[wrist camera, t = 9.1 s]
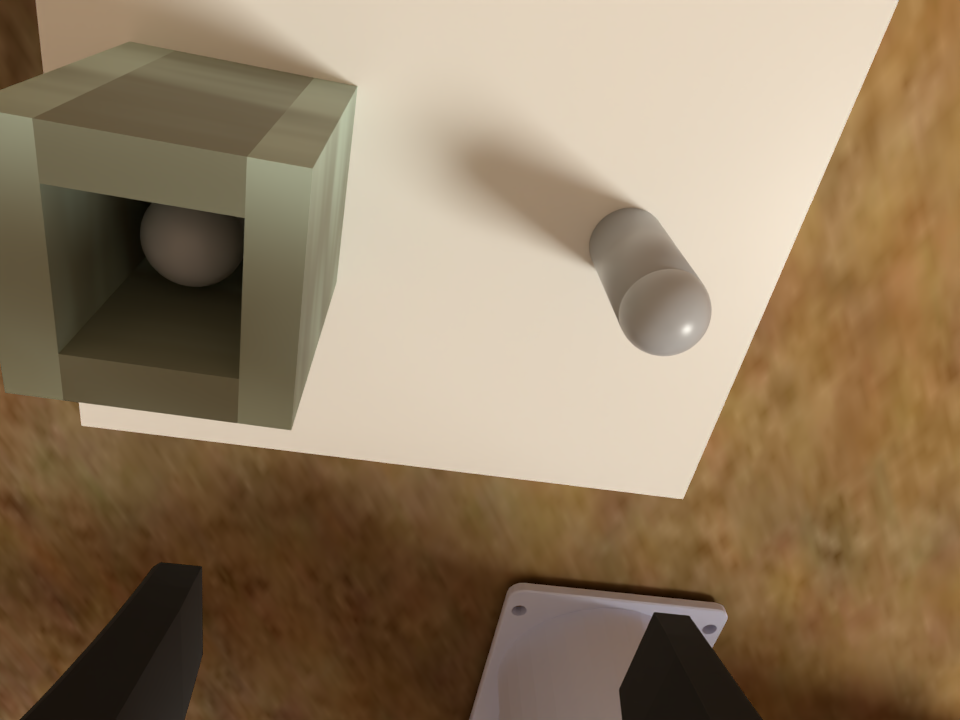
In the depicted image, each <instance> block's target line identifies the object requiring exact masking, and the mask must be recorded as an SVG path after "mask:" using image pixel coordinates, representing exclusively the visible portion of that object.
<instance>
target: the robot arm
mask: <svg viewBox="0 0 960 720" xmlns="http://www.w3.org/2000/svg"><path fill="white" fill-rule="evenodd" d="M516 606H520V607H516ZM727 618H728V616H727V613H726V611H725V608H724V606H723V605H721V604H719V603H715V602H705V601H695V600H686V599H676V598H666V597H657V596H647V595H637V594H628V593H618V592H608V591H599V590H589V589H579V588H570V587H560V586H550V585H541V584H531V583H517V584H514V585H513V586H511V587H510V588H509V589H508V591H507V594H506V597H505V601H504V604H503V607H502V611H501V614H500V617H499V621H498V624H497V627H496V631H495V634H494V637H493V641H492V644H491V648H490V651H489V654H488V658H487V661H486V664H485V668H484V671H483V674H482V678H481V681H480V685H479V688H478V691H477V695H476V698H475V701H474V705H473V708H472V711H471V715H470V718H469V720H763V719H762V718H761V717H760V715H759V714H758V713H757V711H756V710H755V708H754V707H753V706H752V704H751V703H750V701H749V700H748V699H747V697H746V696H745V694H744V693H743V692H742V690H741V689H740V687H739V686H738V685H737V683H736V682H735V680H734V679H733V677H732V676H731V675H730V673H729V672H728V670H727V669H726V667H725V666H724V665H723V663H722V662H721V660H720V659H719V657H718V656H717V654H716V653H715V652H714V650H713V649H712V647H713V646H714V644H715V642H716V640H717V638H718V636H719V634H720V632H721V631H722V629H723V627H724V625H725V623H726V621H727ZM202 655H203V630H202V567H201V566H192V565H182V564H172V563H162V562H161V563H159V564H157V565H156V566H154V567H153V568H152V569H151V570H150V572H149V573H148V574H147V576H146V577H145V578H144V580H143V581H142V582H141V584H140V585H139V586H138V587H137V589H136V590H135V591H134V593H133V594H132V595H131V596H130V598H129V599H128V600H127V601H126V603H125V604H124V605H123V606H122V607H121V609H120V610H119V611H118V612H117V614H116V615H115V616H114V617H113V618H112V620H111V621H110V622H109V623H108V624H107V625H106V627H105V628H104V629H103V630H102V631H101V632H100V634H99V635H98V636H97V637H96V638H95V639H94V641H93V642H92V643H91V644H90V645H89V646H88V647H87V648H86V650H85V651H84V652H83V653H82V654H81V655H80V656H79V657H78V658H77V659H76V661H75V662H74V663H73V664H72V665H71V666H70V667H69V668H68V669H67V671H66V672H65V673H64V674H63V675H62V676H61V677H60V678H59V679H58V680H57V682H56V683H55V684H54V685H53V686H52V687H51V688H50V689H49V690H48V691H47V692H46V693H45V694H44V695H43V697H42V698H41V699H40V700H39V701H38V702H37V703H36V704H35V705H34V706H33V707H32V708H31V709H30V710H29V711H28V712H27V713H26V714H25V715H24V716H23V717H22V718H21V719H20V720H185V716H186V713H187V709H188V706H189V702H190V699H191V695H192V692H193V688H194V684H195V681H196V677H197V673H198V669H199V666H200V662H201V658H202Z"/></svg>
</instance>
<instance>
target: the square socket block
mask: <svg viewBox="0 0 960 720" xmlns="http://www.w3.org/2000/svg"><path fill="white" fill-rule="evenodd" d="M357 87H358V86H354V85H349V84H344V83H339V82H333V81H328V80H323V79H318V78H313V77H308V76H303V75H298V74H293V73H288V72H282V71H277V70H272V69H267V68H262V67H257V66H252V65H247V64H242V63H237V62H232V61H226V60H221V59H216V58H211V57H206V56H201V55H196V54H191V53H186V52H181V51H175V50H170V49H165V48H160V47H155V46H150V45H145V44H140V43H135V42H130V41H129V42H127V43H124V44H121V45H119V46H116V47H113V48H111V49H108V50H105V51H103V52H100V53H97V54H95V55H92V56H89V57H87V58H84V59H81V60H79V61H76V62H73V63H71V64H68V65H65V66H63V67H60V68H57V69H55V70H52V71H49V72H47V73H44V74H41V75H39V76H36V77H33V78H31V79H28V80H25V81H23V82H20V83H17V84H15V85H12V86H9V87H7V88H4V89H1V90H0V363H1V370H2V376H3V382H4V389H5V393H12V394H19V395H27V396H35V397H42V398H50V399H57V400H65V401H72V402H80V403H87V404H95V405H103V406H110V407H118V408H125V409H133V410H140V411H148V412H156V413H163V414H171V415H178V416H186V417H193V418H201V419H209V420H216V421H224V422H231V423H239V424H246V425H254V426H262V427H269V428H277V429H284V430H292V426H293V423H294V420H295V417H296V413H297V410H298V407H299V404H300V400H301V397H302V394H303V390H304V387H305V384H306V381H307V377H308V374H309V371H310V368H311V364H312V361H313V358H314V355H315V351H316V348H317V345H318V342H319V338H320V335H321V332H322V328H323V325H324V322H325V319H326V315H327V312H328V309H329V306H330V302H331V299H332V296H333V293H334V289H335V286H336V283H337V274H338V265H339V255H340V246H341V237H342V227H343V218H344V209H345V199H346V190H347V181H348V171H349V162H350V153H351V143H352V134H353V125H354V115H355V106H356V96H357ZM151 203H158V204H164V205H170V206H176V207H182V208H188V209H194V210H200V211H206V212H212V213H218V214H223V215H229V216H235V217H241V218H245V226H244V254H243V259H242V261H241V262H240V264H239V265H238V267H237V268H236V269H235V270H234V272H233V273H232V274H230V275H229V276H228V277H227V278H225V279H223V280H222V281H220V282H218V283H215V284H212V285H209V286H203V287H190V286H184V285H180V284H177V283H174V282H172V281H170V280H168V279H166V278H165V277H163V276H162V275H161V274H159V273H158V272H157V271H156V270H155V269H154V268H153V267H152V266H151V264H150V263H149V261H148V260H147V258H146V256H145V254H144V251H143V249H142V245H141V241H140V227H141V222H142V219H143V216H144V214H145V212H146V210H147V208H148V207H149V206H150V205H151Z"/></svg>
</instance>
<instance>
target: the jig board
mask: <svg viewBox="0 0 960 720" xmlns="http://www.w3.org/2000/svg"><path fill="white" fill-rule="evenodd" d="M898 1H899V0H36V10H37V19H38V28H39V37H40V47H41V56H42V65H43V74H44V73H47V72H49V71H52V70H55V69H57V68H60V67H63V66H65V65H68V64H71V63H73V62H76V61H79V60H81V59H84V58H87V57H89V56H92V55H95V54H97V53H100V52H103V51H105V50H108V49H111V48H113V47H116V46H119V45H121V44H124V43H127V42H129V41H130V42H135V43H140V44H145V45H150V46H155V47H160V48H165V49H170V50H175V51H181V52H186V53H191V54H196V55H201V56H206V57H211V58H216V59H221V60H226V61H232V62H237V63H242V64H247V65H252V66H257V67H262V68H267V69H272V70H277V71H282V72H288V73H293V74H298V75H303V76H308V77H313V78H318V79H323V80H328V81H333V82H339V83H344V84H349V85H354V86H358V87H357V96H356V106H355V115H354V125H353V134H352V143H351V153H350V162H349V171H348V181H347V190H346V199H345V209H344V218H343V227H342V237H341V246H340V255H339V265H338V274H337V283H336V286H335V289H334V293H333V296H332V299H331V302H330V306H329V309H328V312H327V315H326V319H325V322H324V325H323V328H322V332H321V335H320V338H319V342H318V345H317V348H316V351H315V355H314V358H313V361H312V364H311V368H310V371H309V374H308V377H307V381H306V384H305V387H304V390H303V394H302V397H301V400H300V404H299V407H298V410H297V413H296V417H295V420H294V423H293V426H292V430H284V429H277V428H269V427H262V426H254V425H246V424H239V423H231V422H224V421H216V420H209V419H201V418H193V417H186V416H178V415H171V414H163V413H156V412H148V411H140V410H133V409H125V408H118V407H110V406H103V405H95V404H87V403H80V402H79V407H80V417H81V426H89V427H97V428H105V429H113V430H122V431H130V432H138V433H146V434H154V435H163V436H171V437H179V438H187V439H195V440H203V441H212V442H220V443H228V444H236V445H244V446H253V447H261V448H269V449H277V450H285V451H294V452H302V453H310V454H318V455H326V456H334V457H343V458H351V459H359V460H367V461H375V462H384V463H392V464H400V465H408V466H416V467H424V468H433V469H441V470H449V471H457V472H465V473H474V474H482V475H490V476H498V477H506V478H515V479H523V480H531V481H539V482H547V483H555V484H564V485H572V486H580V487H588V488H596V489H605V490H613V491H621V492H629V493H637V494H645V495H654V496H662V497H670V498H678V499H683V498H684V495H685V493H686V491H687V489H688V486H689V484H690V482H691V479H692V477H693V475H694V472H695V470H696V468H697V465H698V463H699V461H700V459H701V456H702V454H703V452H704V449H705V447H706V445H707V442H708V440H709V438H710V435H711V433H712V431H713V428H714V426H715V424H716V422H717V419H718V417H719V415H720V412H721V410H722V408H723V405H724V403H725V401H726V398H727V396H728V394H729V392H730V389H731V387H732V385H733V382H734V380H735V378H736V375H737V373H738V371H739V368H740V366H741V364H742V361H743V359H744V357H745V355H746V352H747V350H748V348H749V345H750V343H751V341H752V338H753V336H754V334H755V331H756V329H757V327H758V325H759V322H760V320H761V318H762V315H763V313H764V311H765V308H766V306H767V304H768V301H769V299H770V297H771V294H772V292H773V290H774V288H775V285H776V283H777V281H778V278H779V276H780V274H781V271H782V269H783V267H784V264H785V262H786V260H787V258H788V255H789V253H790V251H791V248H792V246H793V244H794V241H795V239H796V237H797V234H798V232H799V230H800V228H801V225H802V223H803V221H804V218H805V216H806V214H807V211H808V209H809V207H810V204H811V202H812V200H813V197H814V195H815V193H816V191H817V188H818V186H819V184H820V181H821V179H822V177H823V174H824V172H825V170H826V167H827V165H828V163H829V161H830V158H831V156H832V154H833V151H834V149H835V147H836V144H837V142H838V140H839V137H840V135H841V133H842V130H843V128H844V126H845V124H846V121H847V119H848V117H849V114H850V112H851V110H852V107H853V105H854V103H855V100H856V98H857V96H858V94H859V91H860V89H861V87H862V84H863V82H864V80H865V77H866V75H867V73H868V70H869V68H870V66H871V63H872V61H873V59H874V57H875V54H876V52H877V50H878V47H879V45H880V43H881V40H882V38H883V36H884V33H885V31H886V29H887V27H888V24H889V22H890V20H891V17H892V15H893V13H894V10H895V8H896V6H897V3H898ZM244 226H245V218H241V217H235V216H229V215H223V214H218V213H212V212H206V211H200V210H194V209H188V208H182V207H176V206H170V205H164V204H158V203H151V205H150V206H149V207H148V208H147V210H146V212H145V214H144V216H143V219H142V222H141V227H140V241H141V245H142V249H143V251H144V254H145V256H146V258H147V260H148V261H149V263H150V264H151V266H152V267H153V268H154V269H155V270H156V271H157V272H158V273H159V274H161V275H162V276H163V277H165V278H166V279H168V280H170V281H172V282H174V283H177V284H180V285H184V286H190V287H203V286H209V285H212V284H215V283H218V282H220V281H222V280H223V279H225V278H227V277H228V276H229V275H230V274H232V273H233V272H234V270H235V269H236V268H237V267H238V265H239V264H240V262H241V261H242V259H243V254H244Z"/></svg>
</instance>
